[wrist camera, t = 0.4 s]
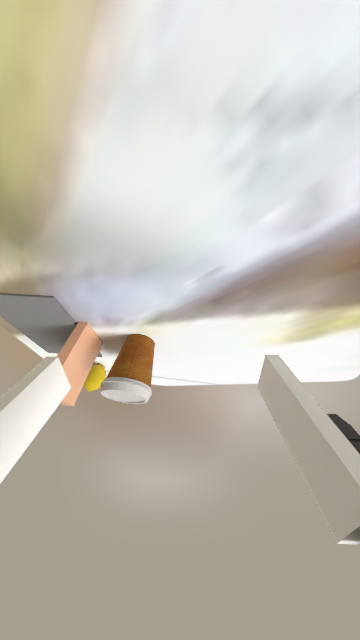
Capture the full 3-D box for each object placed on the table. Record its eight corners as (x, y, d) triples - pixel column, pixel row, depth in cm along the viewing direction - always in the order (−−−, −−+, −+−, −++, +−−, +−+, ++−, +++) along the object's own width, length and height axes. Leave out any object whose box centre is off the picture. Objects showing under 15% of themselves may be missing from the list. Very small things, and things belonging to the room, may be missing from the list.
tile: (77, 321, 35) (33, 392, 26) (87, 322, 34) (46, 393, 26) (94, 342, 41) (62, 404, 32) (102, 343, 41) (73, 406, 32)
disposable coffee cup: (149, 355, 43) (136, 406, 36) (114, 341, 39) (91, 395, 32) (169, 342, 37) (159, 400, 29) (130, 323, 33) (107, 384, 25)
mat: (-28, 291, 31) (-29, 293, 30) (53, 296, 29) (52, 298, 29) (48, 351, 48) (47, 352, 47) (102, 355, 46) (101, 357, 46)
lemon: (112, 364, 50) (101, 392, 45) (106, 369, 54) (96, 395, 49) (93, 358, 48) (80, 386, 43) (89, 364, 52) (76, 390, 47)
